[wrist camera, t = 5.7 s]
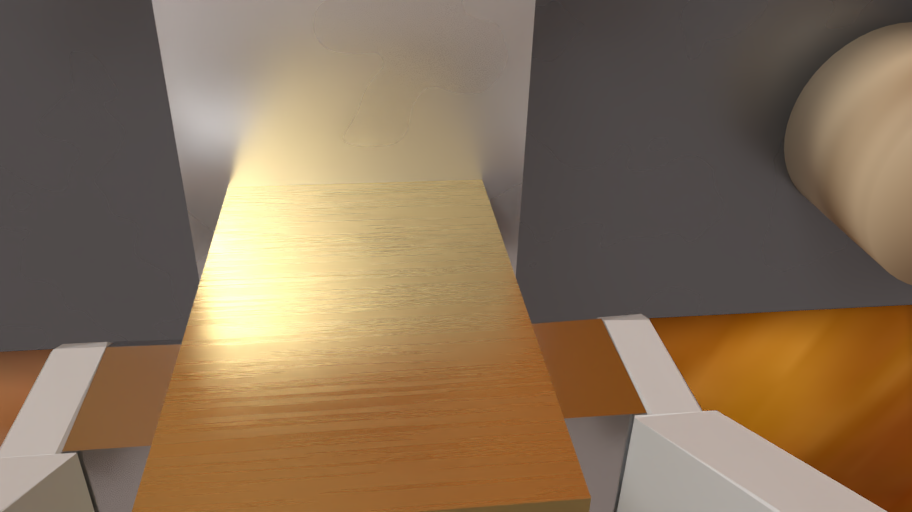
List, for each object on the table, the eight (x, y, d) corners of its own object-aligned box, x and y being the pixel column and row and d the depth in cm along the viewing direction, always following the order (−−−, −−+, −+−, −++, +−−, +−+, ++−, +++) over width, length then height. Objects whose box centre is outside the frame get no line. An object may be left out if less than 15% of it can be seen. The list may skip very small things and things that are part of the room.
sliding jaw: (473, -98, 13) (739, 149, 4) (460, 314, 17) (579, 868, 8) (216, -101, 12) (-94, 172, 4) (267, 324, 16) (179, 920, 8)
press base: (1192, -130, 15) (1792, -69, 9) (1014, 264, 20) (1328, 489, 14) (-267, -154, 12) (-914, -88, 6) (-82, 314, 17) (-338, 631, 11)
